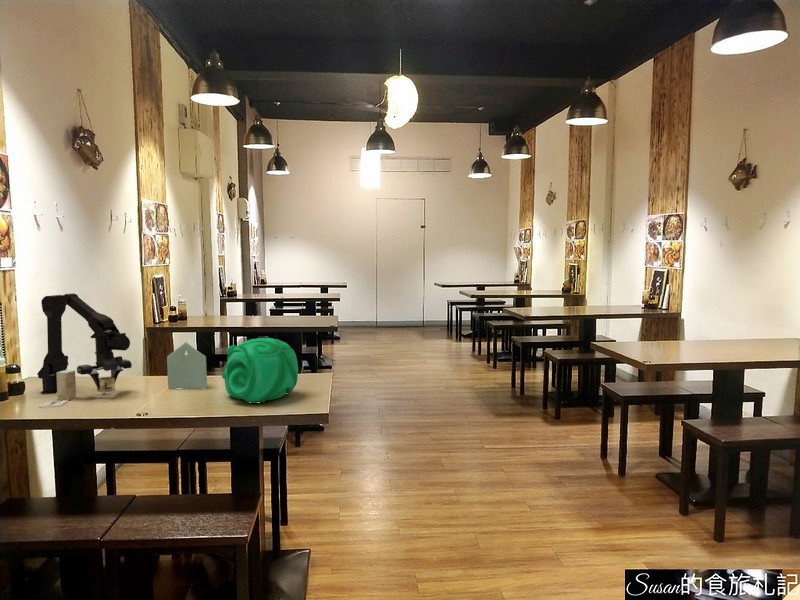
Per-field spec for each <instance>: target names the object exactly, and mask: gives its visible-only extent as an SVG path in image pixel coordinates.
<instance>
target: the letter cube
mask: <svg viewBox="0 0 800 600" xmlns="http://www.w3.org/2000/svg"><path fill="white" fill-rule="evenodd" d="M99 383H100V389H98V388H97V387H96V391H97V392H99V393H100V392H101V393H104V392H116V382H115V379H114V378H112V377H111V376H106V377H105V376H104V377H99Z"/></svg>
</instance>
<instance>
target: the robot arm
mask: <svg viewBox="0 0 800 600" xmlns="http://www.w3.org/2000/svg"><path fill="white" fill-rule="evenodd" d="M67 306H68V307H70V309H72V310H74V311H75V313H77V314H78V315H79V316H80V317H82V318H83V319H84V320H85V321H86V322H87V326H88V327H89V328H90V329H91V330H92V332H94V333H93V334H91V336H90V338H91V339H95V340H94V341H95V342H94V343H95V351H94V354H95V358H96V359H95V360H96V361H95V365H90V364H81V365H77V367H76V373H77V374H79V375H88V376H90V377H91V379H92V380H93V382H94V384H95V386H96V389H97V388H98V389H100V383H99V378H100V377H99V376H100V373H99V372H98V371H101V370H103V371H106V372H109V371H110V377H112V378H114V379H115V383H117V378H118V376H119V374H120V373H121V372H123V371H124V369H131V368H132V367H133V364H132V362H131V361H130V360H128V359H123V357H122V356H121V355H120V356H119V355H117V356H116V357H115V355H114V351H127V350H128V349H129V348H130V345H131V341H130V339H129V337H128V336H127V334H126V332H120V331H119V328H118V327H117V326H116V324H115V323H114V320H113V319H112V318H111V317H110V316H107V315H106V314H105V313H104V314H102V313H101V312H99V311H98V312H97V310H95V309H94V308H92V307H91V306H90V305H89V304H88V303H86V302H85V301H84V300H83V299H81V298H80V297H79V295H78V294H76V293H64V294H55V295H46V296H44V297H43V298H41V308H42V313H44V315H45V317H46V320H47V321H46V323H47V324H46V325H47V329H46V330H47V331H46V332H47V333H46V334H47V353H46V355H45V356H44V358H43V363H42V367H41V368H40V369H39V371H38V372H37V377H38V379H41V381H42V390H41V391H40V394H54V393H55V392H57V372H61V371H65V370H68V366H69V356H68V355H65V353H64V352H63V338H62V336H63V334H62V333H63V332H62V331H63V329H62V328H63V327H62V318H63V317H62V316H63V315H64V313H65V311H66V308H67Z"/></svg>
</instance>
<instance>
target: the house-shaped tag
mask: <svg viewBox="0 0 800 600" xmlns="http://www.w3.org/2000/svg"><path fill="white" fill-rule="evenodd" d="M186 353H187V354H186ZM166 357H167V358H166V360H167V361H166V366H167V367H166V368H167V389H168V388H170V389H169V390H177V389H176V388H183V389H182V390H204V389H203V388H207V389H208V379H207V378H208V377H207V376H208V375H207V371H208V370H207V356H206V355H205V354H203V353H201V352H200V351H198V350H197V349H196V348H195V347H194V346H192V345H191V344H189V343H188V342H184V343H183V344H181V345H180V346H179V347H178V348H176V349H175V350H173V352H171V353H170V354H169V355H167V356H166ZM184 388H185V389H184ZM186 388H187V389H186ZM198 388H200V389H198ZM201 388H202V389H201Z"/></svg>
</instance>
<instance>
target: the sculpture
mask: <svg viewBox="0 0 800 600" xmlns="http://www.w3.org/2000/svg"><path fill="white" fill-rule="evenodd" d="M226 359H227V360H226V361H227V362H226V365H225V369H224V370H223V372H222V373H221V374H222V375H221V378H222V379H223V380H224V386H225V390H226V393H227V394H228V395H229V396H231V397H233V398H234V399H237V398H238V399H237V400H240V399H243V401H244V402H246V401H247V402H246V403H248V402H251V403H257V402H263V403H264V402H265V401H266V400H268V401H273V399H274V400H277V398H278V399H279V398H282V397H284V396H285V395H287V394H286V393H289V394H290V393H291V392H292V391H293V390H294V388H295V387H296V385H297V384H298V380H299V379H298V376H299V364H298V363H299V362H298V359H297V354H296V352H295V350H294V349H293V348H292V347H291V346H290V345H289V344H288V343H287V342H286V341H282V340H280V339H278V338H277V339H276V338H272V337H258V338H252V339H251V338H250V339H248V340H245V341H243V342H241V343H239V344H238V345H230V346H229V347H228V348H227V357H226Z"/></svg>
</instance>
